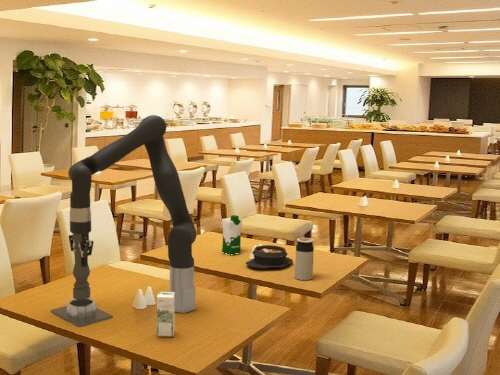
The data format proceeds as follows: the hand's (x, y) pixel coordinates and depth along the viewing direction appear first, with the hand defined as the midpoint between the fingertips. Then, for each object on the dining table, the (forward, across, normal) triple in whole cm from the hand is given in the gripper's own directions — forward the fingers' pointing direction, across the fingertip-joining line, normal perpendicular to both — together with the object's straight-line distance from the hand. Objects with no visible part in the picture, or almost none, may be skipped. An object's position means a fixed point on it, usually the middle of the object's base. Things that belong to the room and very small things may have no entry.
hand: (81, 264), depth 232 cm
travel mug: (+19, -24, -99) cm, 104 cm away
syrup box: (+19, -35, -12) cm, 42 cm away
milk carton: (+19, +28, -103) cm, 108 cm away
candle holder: (+12, 0, 0) cm, 12 cm away
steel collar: (+19, 0, 0) cm, 19 cm away
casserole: (+20, 0, -102) cm, 104 cm away
